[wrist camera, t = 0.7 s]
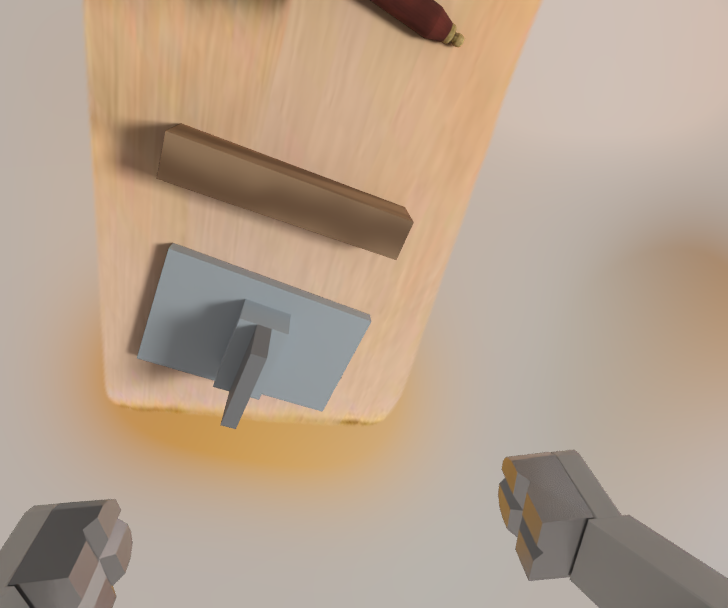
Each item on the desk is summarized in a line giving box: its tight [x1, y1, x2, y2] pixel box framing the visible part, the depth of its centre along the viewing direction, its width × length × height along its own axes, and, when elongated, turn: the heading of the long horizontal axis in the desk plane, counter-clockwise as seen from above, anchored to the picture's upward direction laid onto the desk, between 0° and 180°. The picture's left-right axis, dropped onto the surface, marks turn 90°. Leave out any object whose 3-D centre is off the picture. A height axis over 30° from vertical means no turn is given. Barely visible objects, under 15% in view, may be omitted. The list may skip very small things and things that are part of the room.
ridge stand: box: [137, 243, 371, 429], centre depth 46 cm, size 14×22×10 cm, turn 65°
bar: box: [157, 123, 414, 260], centre depth 41 cm, size 4×22×5 cm, turn 69°
